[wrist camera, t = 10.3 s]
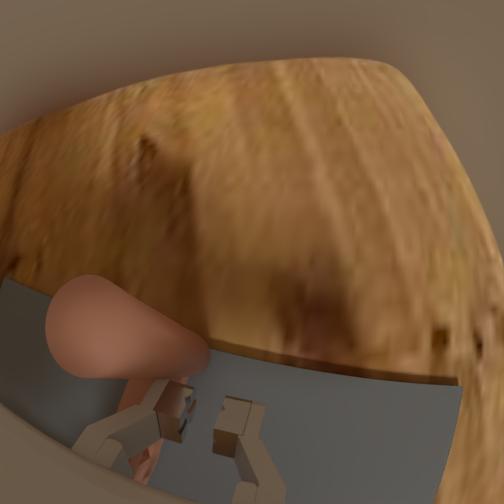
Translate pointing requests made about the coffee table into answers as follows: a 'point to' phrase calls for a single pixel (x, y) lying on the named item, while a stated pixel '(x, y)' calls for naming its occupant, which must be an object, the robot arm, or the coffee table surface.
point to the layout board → (273, 426)
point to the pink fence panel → (121, 345)
